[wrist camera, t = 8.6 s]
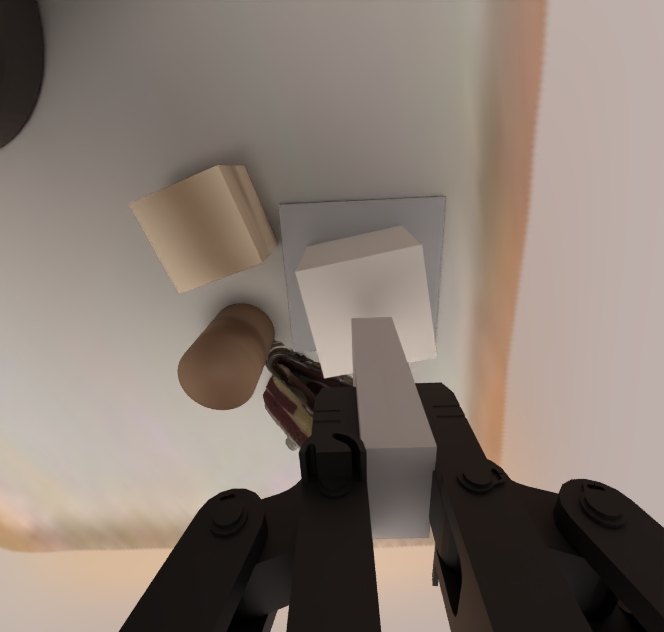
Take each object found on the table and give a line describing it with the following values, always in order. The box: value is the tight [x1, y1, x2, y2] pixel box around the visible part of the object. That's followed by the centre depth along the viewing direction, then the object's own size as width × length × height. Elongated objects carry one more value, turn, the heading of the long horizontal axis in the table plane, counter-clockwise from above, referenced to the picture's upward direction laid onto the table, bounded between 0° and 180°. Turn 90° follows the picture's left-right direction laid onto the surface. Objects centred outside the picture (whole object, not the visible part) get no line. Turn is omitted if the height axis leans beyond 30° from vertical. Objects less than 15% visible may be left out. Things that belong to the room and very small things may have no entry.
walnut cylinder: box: [178, 304, 275, 410], centre depth 23 cm, size 4×4×6 cm
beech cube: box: [128, 165, 278, 294], centre depth 20 cm, size 5×5×5 cm
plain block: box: [295, 225, 437, 378], centre depth 20 cm, size 6×6×6 cm
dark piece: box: [263, 342, 354, 451], centre depth 27 cm, size 10×7×12 cm
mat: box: [278, 196, 446, 352], centre depth 23 cm, size 10×10×1 cm
